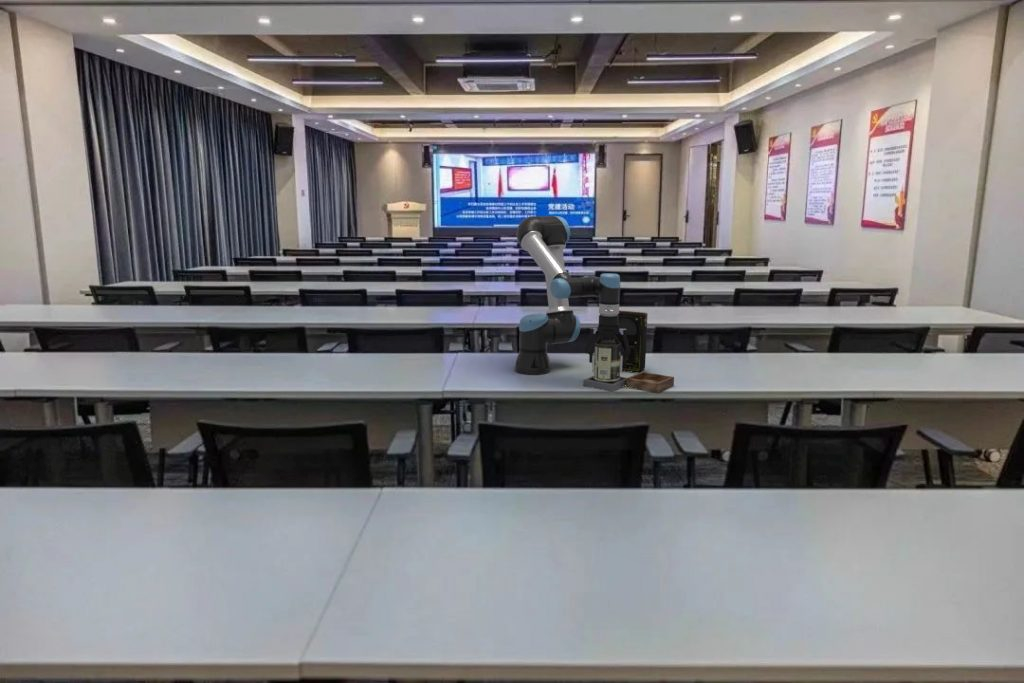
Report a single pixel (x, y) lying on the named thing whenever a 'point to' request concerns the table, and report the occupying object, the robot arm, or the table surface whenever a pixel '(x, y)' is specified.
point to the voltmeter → (633, 339)
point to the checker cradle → (604, 383)
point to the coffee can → (607, 361)
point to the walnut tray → (650, 382)
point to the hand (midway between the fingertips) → (606, 371)
